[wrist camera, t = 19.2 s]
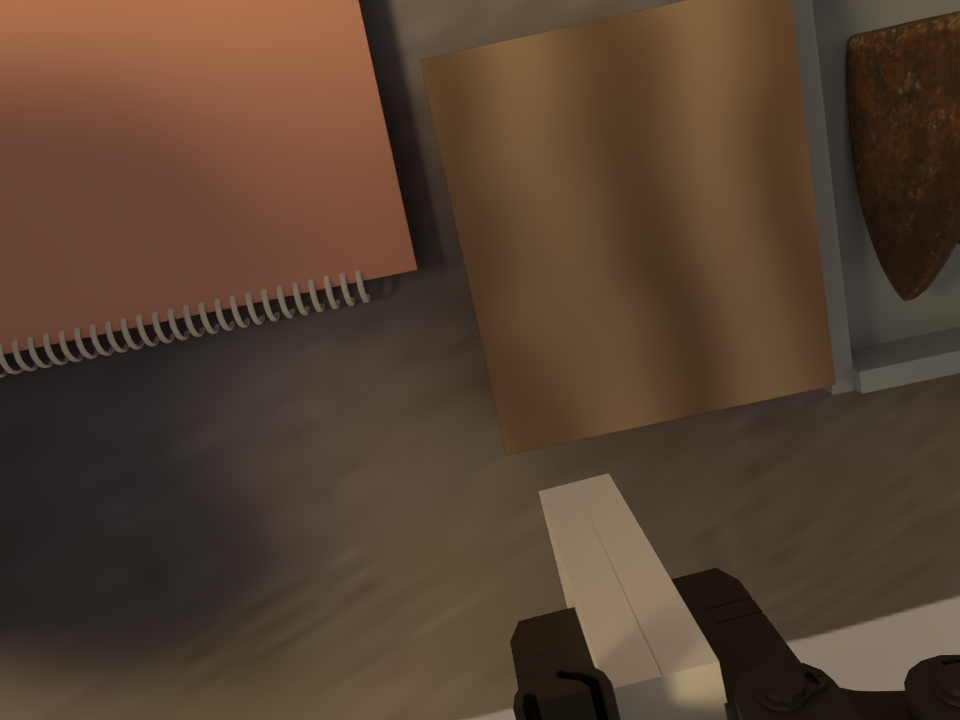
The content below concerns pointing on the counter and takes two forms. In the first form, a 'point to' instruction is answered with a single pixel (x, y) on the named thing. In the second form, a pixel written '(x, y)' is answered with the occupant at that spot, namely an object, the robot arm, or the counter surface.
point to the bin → (841, 226)
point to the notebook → (186, 166)
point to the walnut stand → (636, 217)
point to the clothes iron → (907, 144)
